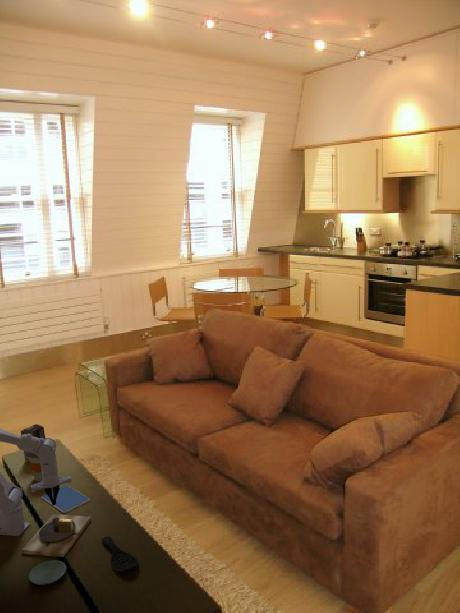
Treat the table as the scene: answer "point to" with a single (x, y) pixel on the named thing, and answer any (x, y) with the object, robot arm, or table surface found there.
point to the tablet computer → (67, 499)
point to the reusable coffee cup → (35, 466)
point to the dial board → (57, 548)
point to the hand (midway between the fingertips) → (54, 503)
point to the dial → (57, 530)
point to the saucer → (47, 572)
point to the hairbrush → (120, 557)
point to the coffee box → (33, 434)
